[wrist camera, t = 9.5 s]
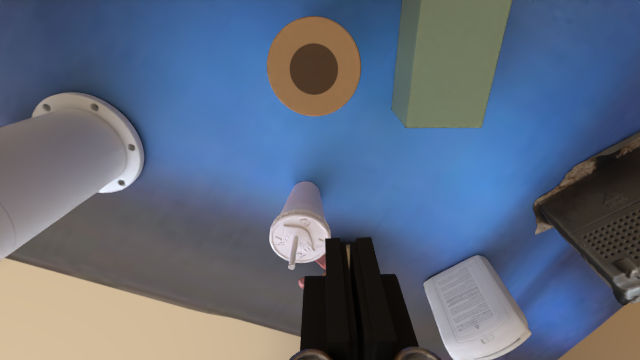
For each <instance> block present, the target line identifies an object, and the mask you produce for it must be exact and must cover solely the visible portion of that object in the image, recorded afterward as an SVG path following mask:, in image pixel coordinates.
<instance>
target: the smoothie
mask: <svg viewBox="0 0 640 360" xmlns="http://www.w3.org/2000/svg"><path fill="white" fill-rule="evenodd" d="M325 238H331V231H330V228H329V225H328V224H327V222H326V221H325V216H324V211H323V206H322V201H321V196H320V191H319V189H318V187H317V186H316V185H315V184H314V183H312V182H308V181H302V182H299V183H297V184H296V185H295V186H294V187H293V189H292V191H291V193H290V195H289V197H288V199H287V201H286V203H285V205H284V207H283V209H282V211H281V213H280V215H279V216H278V217H277V218H276V219H275V220H274V222H273V223H272V225H271V230H270V235H269V240H270V244H271V246H272V248H273V250H274V251H275V252H276V253H277V254H278V255H279V256H280V257H282V258H283V259H285V260H288V261H289V266H288V268H289V269H291V270H292V269H294V268H295V263H307V262H312V261H314V260H317V259H318V258H320V257H321V256H323V255H324V254H325Z"/></svg>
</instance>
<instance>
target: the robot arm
mask: <svg viewBox="0 0 640 360" xmlns="http://www.w3.org/2000/svg"><path fill="white" fill-rule="evenodd" d="M143 164H144V150H143V146H142V142H141V140H140V138H139V136H138V133H137V132H136V130H135V129H134V127H133V126H132V124H131V123H130V122H129V121H128V119H127V118H126V117H125V116H124V115H123V114H122V113H121V112H119V111H118V110H117V109H116V108H115V107H113V106H112V105H110V104H108V103H107V102H105V101H104V100H101V99H99V98H97V97H95V96H92V95H88V94H84V93H77V92H67V93H60V94H56V95H53V96H50V97H48V98H46V99H44V100H43V101H42V102H40V103H39V104H38V105H37V107H36V108H35V110H34V112H33V114H32V118H30V119H26V120H23V121H20V122H16V123H13V124H10V125H7V126H3V127H0V260H2V259H3V258H5V257H6V256H7V255H9V254H10V253H12V252H13V251H15V250H16V249H18V248H19V247H20V246H22V245H23V244H25V243H26V242H28V241H29V240H30V239H32V238H33V237H35V236H36V235H37V234H39V233H40V232H42V231H43V230H44V229H46V228H47V227H49V226H50V225H51V224H53V223H54V222H56V221H57V220H58V219H60V218H61V217H63V216H64V215H65V214H67V213H68V212H70V211H71V210H72V209H74V208H75V207H77V206H78V205H79V204H81V203H82V202H84V201H85V200H86V199H88V198H89V197H91V196H92V195H94V194H95V193H96V192H100V193H109V192H116V191H119V190H122V189H124V188H126V187H128V186H129V185H130V184H131V183H133V182H134V181H135V180H136V179H137V178H138V176H139V175H140V173H141V171H142V169H143ZM325 259H326V276H305V278H304V292H303V309H302V327H301V345H300V352H298V353H296V354H295V355H293V356H292V357H291V358H290V360H441V359H440V358H439V357H438V356H437V355H436V354H434V353H433V352H431V351H429V350H427V349H424V348H421V347H419V345H418V342H417V339H416V336H415V333H414V330H413V326H412V323H411V320H410V317H409V314H408V311H407V307H406V304H405V301H404V298H403V295H402V292H401V288H400V285H399V282H398V279H397V277H396V275H395V274H380V271H379V267H378V263H377V259H376V255H375V251H374V247H373V243H372V239H371V237H363V238H356V239H355V242H350V262H349V264H348V256H347V248H346V242H340V238H325Z"/></svg>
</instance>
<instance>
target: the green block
mask: <svg viewBox="0 0 640 360" xmlns="http://www.w3.org/2000/svg"><path fill="white" fill-rule="evenodd" d="M511 4H512V0H402V5H401V15H400V25H399V36H398V46H397V56H396V66H395V77H394V87H393V97H392V108H391V110H392V111H393V112H394V114H395V115H396V116H397V118H398V119H399V120H400V121H401V123H402V124H403V125H404V126H405V128H481V127H482V124H483V119H484V115H485V111H486V107H487V103H488V99H489V95H490V91H491V86H492V82H493V78H494V74H495V70H496V66H497V62H498V57H499V53H500V49H501V45H502V41H503V37H504V33H505V28H506V24H507V20H508V16H509V12H510V8H511Z"/></svg>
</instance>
